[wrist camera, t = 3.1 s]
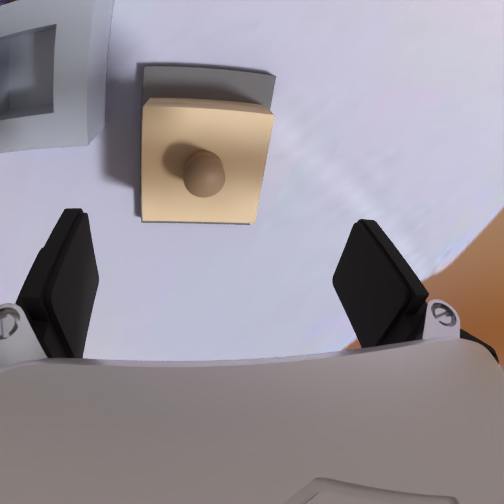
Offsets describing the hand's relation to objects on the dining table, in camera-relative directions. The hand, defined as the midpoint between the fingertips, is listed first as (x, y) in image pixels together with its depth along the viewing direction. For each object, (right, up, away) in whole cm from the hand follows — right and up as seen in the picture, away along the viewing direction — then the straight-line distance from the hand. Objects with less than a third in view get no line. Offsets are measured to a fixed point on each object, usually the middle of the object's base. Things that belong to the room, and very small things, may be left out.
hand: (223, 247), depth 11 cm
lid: (-2, +6, +9) cm, 11 cm away
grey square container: (-12, +12, +3) cm, 17 cm away
